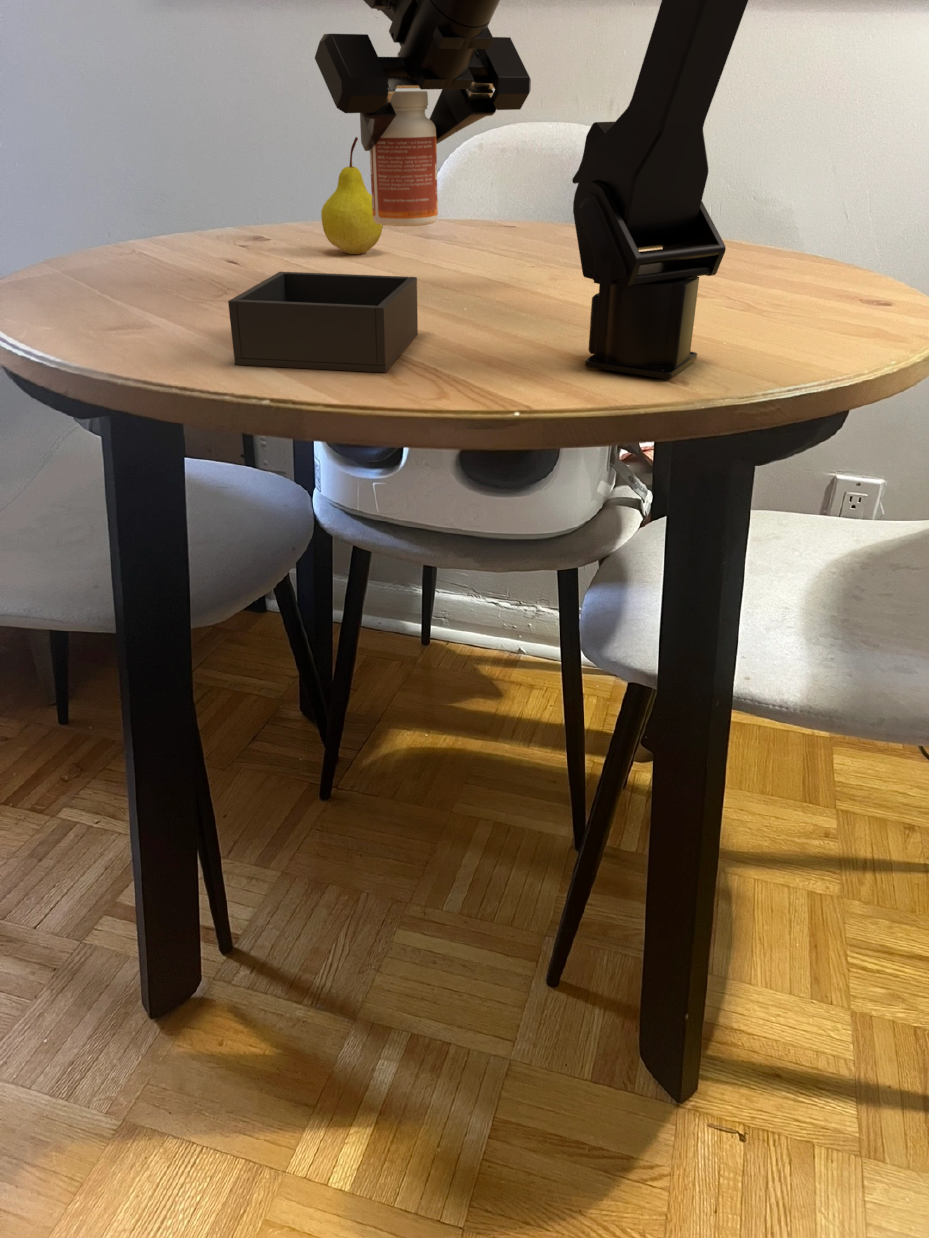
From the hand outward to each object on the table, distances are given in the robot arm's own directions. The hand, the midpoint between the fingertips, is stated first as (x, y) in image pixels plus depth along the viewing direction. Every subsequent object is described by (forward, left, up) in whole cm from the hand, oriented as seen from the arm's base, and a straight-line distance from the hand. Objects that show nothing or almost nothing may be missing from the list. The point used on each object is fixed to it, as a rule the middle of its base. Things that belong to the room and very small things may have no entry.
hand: (395, 145), depth 92 cm
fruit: (+14, -12, -12) cm, 22 cm away
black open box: (-9, +24, -12) cm, 29 cm away
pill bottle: (-1, +1, -7) cm, 7 cm away
